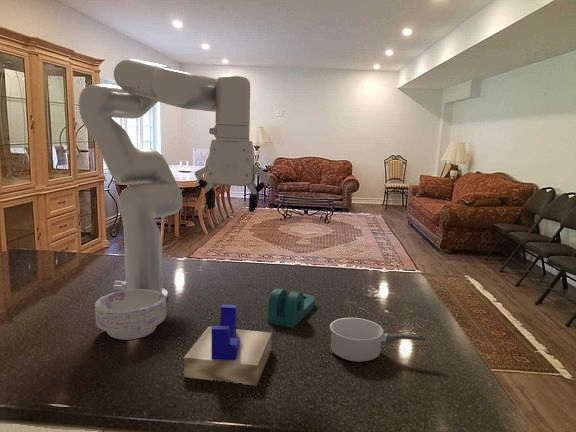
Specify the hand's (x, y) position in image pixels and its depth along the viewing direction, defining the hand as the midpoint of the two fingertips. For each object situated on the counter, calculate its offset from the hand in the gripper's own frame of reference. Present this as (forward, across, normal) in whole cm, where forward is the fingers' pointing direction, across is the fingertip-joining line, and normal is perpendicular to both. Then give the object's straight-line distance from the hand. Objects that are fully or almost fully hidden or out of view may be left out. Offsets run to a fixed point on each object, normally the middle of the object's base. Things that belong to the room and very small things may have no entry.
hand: (231, 209), depth 101 cm
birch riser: (+28, +5, -17) cm, 33 cm away
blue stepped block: (+24, +5, -17) cm, 30 cm away
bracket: (+29, +14, +12) cm, 34 cm away
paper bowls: (+29, -21, -8) cm, 36 cm away
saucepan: (+29, +34, -7) cm, 45 cm away
